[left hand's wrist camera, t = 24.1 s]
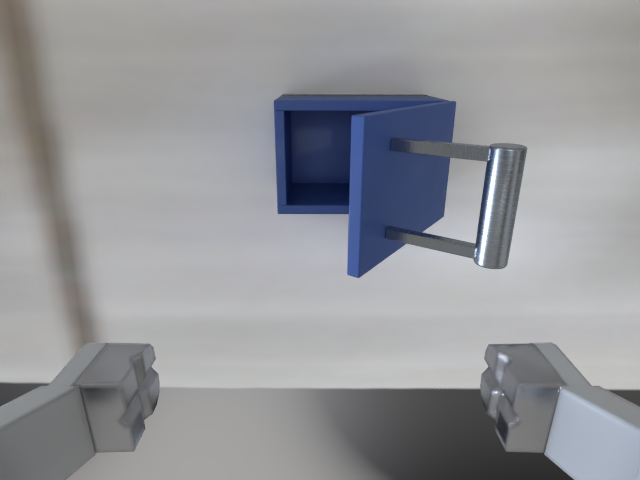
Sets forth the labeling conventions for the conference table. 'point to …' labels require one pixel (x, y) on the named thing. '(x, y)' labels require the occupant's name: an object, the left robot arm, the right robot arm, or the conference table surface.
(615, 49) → the conference table surface
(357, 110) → the chest
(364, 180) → the lid
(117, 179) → the conference table surface
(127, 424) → the left robot arm
